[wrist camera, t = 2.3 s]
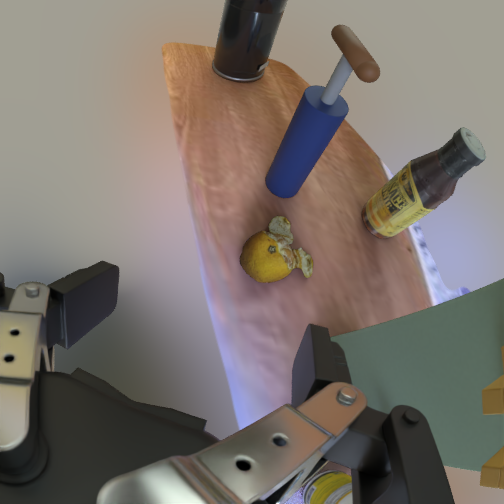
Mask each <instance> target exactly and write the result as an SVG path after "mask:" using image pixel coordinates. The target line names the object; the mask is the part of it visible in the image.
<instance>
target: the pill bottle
mask: <svg viewBox="0 0 504 504" xmlns="http://www.w3.org/2000/svg"><path fill="white" fill-rule="evenodd" d="M302 499H303V503H304V504H353V501H352V477H351V476H349V475H347V474H345V473H343V472H341V471H336V470H330V471H326V472H323V473H320V474H318V475H317V476H315V477H314V478H312V479H311V480H310V481H309V482H308V484H307V485H306V487H305V489H304V491H303V496H302Z"/></svg>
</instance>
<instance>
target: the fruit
mask: <svg viewBox="0 0 504 504" xmlns="http://www.w3.org/2000/svg"><path fill="white" fill-rule="evenodd" d="M290 225H291V224H290V222H289V221H288V220H287V219H286V217H282V216H276V217H274V218H273V219H272V220H271V222H270V223H269V230H270V232H265V231H261V232H258V233H256V234H255V235H253V236H251V237H250V238H249V239H248V240H247V241H246V243H245V244H244V246H243V250H242V254H241V256H240V264H241V266H242V267H243V269H244V270H245V272H246V273H247V274H249V275H250V277H252V278H254V279H255V280H256V281H258V282H262V283H266V282H268V283H270V282H275V281H278V280H280V279H283V278H284V277H286V276H287V275H289V274H290V272H291V271H292V269H295V268H300V269H301V270H302V271H303V273H304V277H306V278H309V277H310V276H311V275H312V269H313V260H312V258H311V256H310V255H309V254H307V253H306V252H305V251H302V248H299V249H297V250H295V249H291V247H290V245H289V244H291V243H292V242H293V235H292V234H291V232H290Z"/></svg>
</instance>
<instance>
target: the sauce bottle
mask: <svg viewBox="0 0 504 504" xmlns="http://www.w3.org/2000/svg"><path fill="white" fill-rule="evenodd" d="M485 158H486V155H485V150H484V148H483V146H482V144H481V142H480V141H479V140H478V139H477V137H476V136H475V135H474V134H473V133H472V132H471V131H470V130H469V129H467V128H464V127H463V128H460V129H459V130H458V131H457V132H456V133H454V135H453V137H452V139H451V140H450V141H448V142H447V143H446V144H445V145H444V146H443V147H441V148H440V149H439V150H436V151H433V152H431V153H428V154H426V155H424V156H421V157H418V158H416V159H413V160H411V161H410V162H409V163H408V164H407V165H406V166H405V167H404V168H403V169H402V170H401V171H399V172H398V173H397V174H396V175H395V176H394V177H393V178H392V179H391V180H390V181H389V182H387V183H386V184H385V185H384V186H383V187H382V188H381V189H380V190H379V191H378V192H377V193H375V194H374V195H373V196H372V197H371V198H370V199H369V201H368V202H367V203H366V205H365V206H364V208H363V211H362V216H363V220H364V223H365V225H366V228H367V229H368V231H369V232H370V233H372V234H374V235H375V236H377V237H378V238H389V237H392V236H395V235H396V234H398V233H399V232H401V231H403V230H404V229H406V228H407V227H409V226H410V225H412V224H413V223H415V222H416V221H418V220H419V219H421V218H422V217H424V216H425V215H427V214H428V213H430V212H431V211H432V210H434V209H435V208H437V206H438V205H440V204H441V203H443V202H444V201H446V200H447V199H448V198H449V197H450V196H451V195H452V194H453V192H454V189H455V186H456V183H457V181H458V179H459V178H460V177H462V176H463V174H464V173H466V172H467V171H468V170H470V169H471V168H472V167H473V166H478V165H479V164H480V163H482V162H483V161H484V160H485Z"/></svg>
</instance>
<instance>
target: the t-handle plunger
mask: <svg viewBox="0 0 504 504" xmlns="http://www.w3.org/2000/svg"><path fill="white" fill-rule="evenodd" d="M331 35H332V38H333V39H334V41H335V42H336V44H337V45H338V47H339V48H340V50H341V51H342V53H343V55H342V57H341V59H340V61H339V63H338V65H337V66H336V68H335V70H334V72H333V74H332V76H331V78H330V80H329V82H328V84H327V86H326V87H322V86H310V87H308V88H307V89H306V90H305V92H304V94H303V96H302V98H301V100H300V102H299V105H298V107H297V109H296V111H295V113H294V116H293V118H292V120H291V122H290V124H289V127H288V129H287V131H286V133H285V136H284V138H283V140H282V142H281V144H280V147H279V149H278V151H277V153H276V156H275V158H274V160H273V162H272V165H271V167H270V169H269V171H268V174H267V176H266V185H267V187H268V189H269V190H270V191H271V192H272V193H273V194H274V195H276V196H278V197H282V198H290V197H292V196H294V195H296V194H297V192H298V191H299V189H300V187H301V186H302V184H303V183H304V181H305V180H306V178H307V176H308V175H309V173H310V172H311V170H312V169H313V167H314V165H315V164H316V162H317V161H318V159H319V158H320V156H321V154H322V153H323V151H324V150H325V148H326V147H327V145H328V143H329V142H330V140H331V139H332V137H333V136H334V134H335V132H336V131H337V129H338V128H339V126H340V125H341V123H342V121H343V120H344V118H345V116H346V115H347V113H348V105H347V103H346V101H345V100H344V99H343V98H342V97H341V96H340V95H339V93H340V92H341V90H342V88H343V86H344V85H345V83H346V81H347V79H348V78H349V76H350V74H351V72H352V71H353V70H354V72H355V73H356V75H357V76H358V78H359V79H360V80H362V81H364V82H367V83H371V82H374V81H376V80H377V79H378V78H379V76H380V68H379V66H378V65H377V63H376V62H375V60H374V59H373V58H372V56H371V55H370V53H369V52H368V51H367V50H366V48H365V47H364V45H363V44H362V43H361V41H360V40H359V39H358V38H357V36H356V35H355V34H354V33H353V32H352V30H351V29H350V28H349V27H347V26H345V25H337V26H335V27H334V28H333V29H332V32H331Z"/></svg>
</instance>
